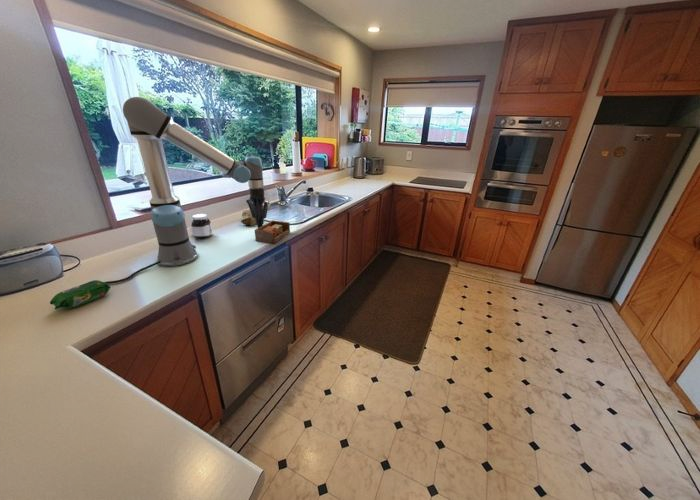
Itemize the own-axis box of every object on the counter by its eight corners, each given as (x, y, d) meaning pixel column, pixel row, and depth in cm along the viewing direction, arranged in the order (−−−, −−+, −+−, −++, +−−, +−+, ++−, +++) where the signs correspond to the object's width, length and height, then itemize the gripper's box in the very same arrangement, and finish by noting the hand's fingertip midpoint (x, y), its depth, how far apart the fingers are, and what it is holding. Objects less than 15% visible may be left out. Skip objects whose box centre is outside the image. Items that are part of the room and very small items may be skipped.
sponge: (258, 228, 170) (265, 212, 186) (253, 217, 166) (261, 201, 182) (237, 231, 171) (246, 215, 187) (232, 220, 167) (242, 204, 183)
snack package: (48, 309, 90) (42, 296, 88) (105, 287, 103) (100, 275, 101) (59, 316, 87) (52, 303, 85) (116, 292, 100) (111, 280, 98)
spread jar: (205, 240, 147) (202, 218, 143) (184, 239, 147) (180, 217, 143) (216, 232, 158) (213, 212, 154) (196, 231, 158) (192, 211, 154)
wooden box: (274, 243, 146) (273, 232, 144) (255, 240, 149) (254, 230, 146) (290, 232, 162) (289, 222, 160) (273, 229, 165) (272, 220, 162)
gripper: (271, 187, 148) (274, 229, 158) (249, 185, 151) (254, 226, 161) (263, 190, 142) (267, 233, 151) (241, 187, 145) (246, 230, 154)
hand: (260, 230), depth 156 cm, fingers closed
